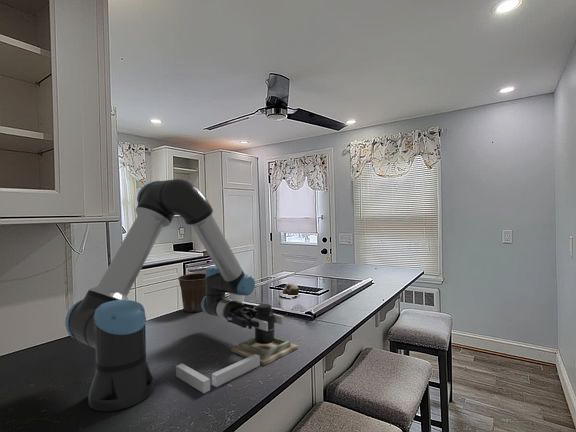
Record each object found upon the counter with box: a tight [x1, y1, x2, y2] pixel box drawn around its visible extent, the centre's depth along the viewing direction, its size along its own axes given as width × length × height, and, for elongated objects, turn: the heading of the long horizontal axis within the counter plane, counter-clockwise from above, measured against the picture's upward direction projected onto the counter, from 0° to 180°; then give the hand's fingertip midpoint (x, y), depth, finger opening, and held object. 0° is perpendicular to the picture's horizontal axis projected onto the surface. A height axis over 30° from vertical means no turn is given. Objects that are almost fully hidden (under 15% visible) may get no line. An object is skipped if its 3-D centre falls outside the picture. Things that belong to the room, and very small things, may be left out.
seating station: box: [231, 336, 299, 366], centre depth 111 cm, size 16×16×2 cm
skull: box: [281, 282, 300, 295], centre depth 182 cm, size 12×10×10 cm
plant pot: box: [177, 272, 206, 313], centre depth 160 cm, size 16×16×16 cm
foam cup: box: [229, 293, 245, 303], centre depth 167 cm, size 10×9×13 cm
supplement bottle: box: [254, 303, 276, 344], centre depth 111 cm, size 7×7×12 cm
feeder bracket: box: [175, 354, 261, 394], centre depth 97 cm, size 20×14×3 cm
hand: (275, 323), depth 107 cm, fingers closed on supplement bottle, 7 cm apart
